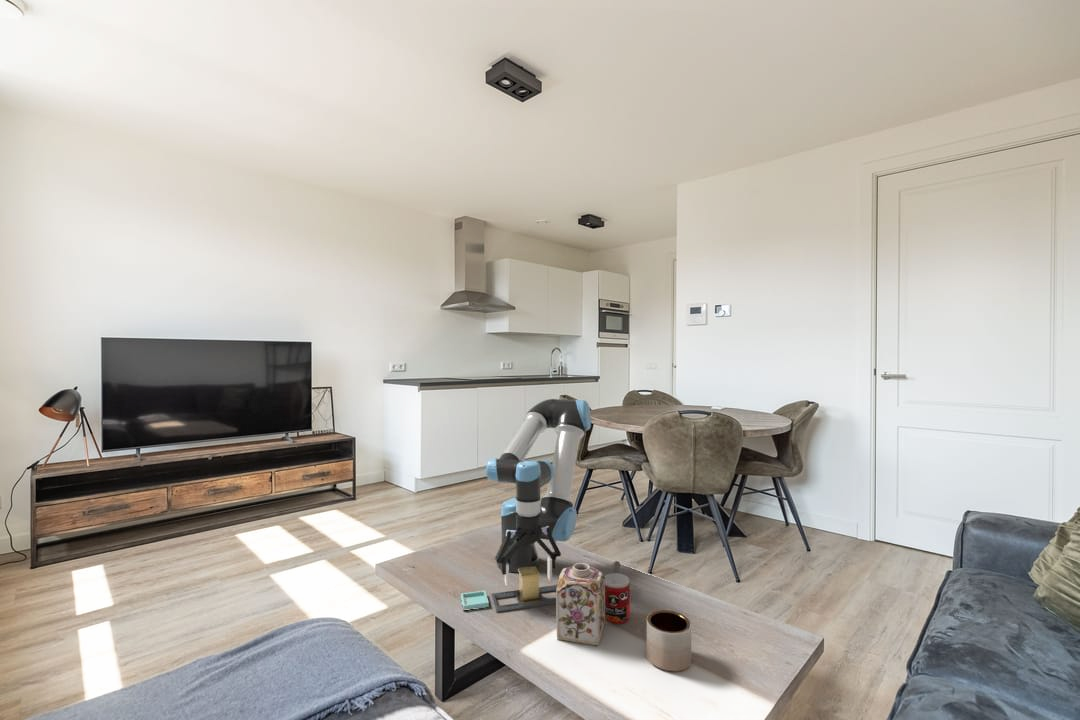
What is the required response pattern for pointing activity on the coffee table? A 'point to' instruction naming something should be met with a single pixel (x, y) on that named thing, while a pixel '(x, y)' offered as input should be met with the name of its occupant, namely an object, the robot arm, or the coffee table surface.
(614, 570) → the portable electronic device stand
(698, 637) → the coffee table surface
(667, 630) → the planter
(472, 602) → the parts tray
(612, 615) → the canned food
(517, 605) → the rail
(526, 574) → the block
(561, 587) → the decorative jar
